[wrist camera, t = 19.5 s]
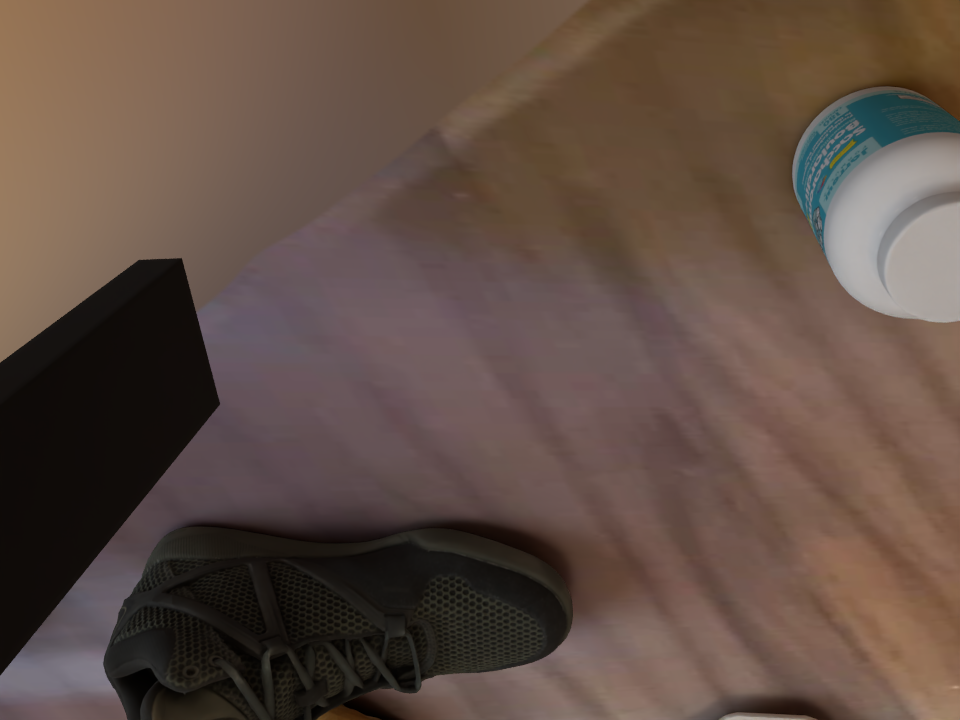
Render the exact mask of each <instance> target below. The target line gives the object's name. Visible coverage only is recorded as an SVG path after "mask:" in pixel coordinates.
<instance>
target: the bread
mask: <svg viewBox="0 0 960 720" xmlns="http://www.w3.org/2000/svg"><path fill="white" fill-rule="evenodd" d="M317 720H381V719H379V718H376V717H371V716H366V715H364V714H362V713H360V712H358V711H356V710H353V709H349V708H347V707H345V706H344V705H342V704H341V705H339V706H338V707H336V708H334V709H332V710H330V711H328V712H327V713H325V714H323V715H322V716H320V717H319V718H318V719H317Z"/></svg>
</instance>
